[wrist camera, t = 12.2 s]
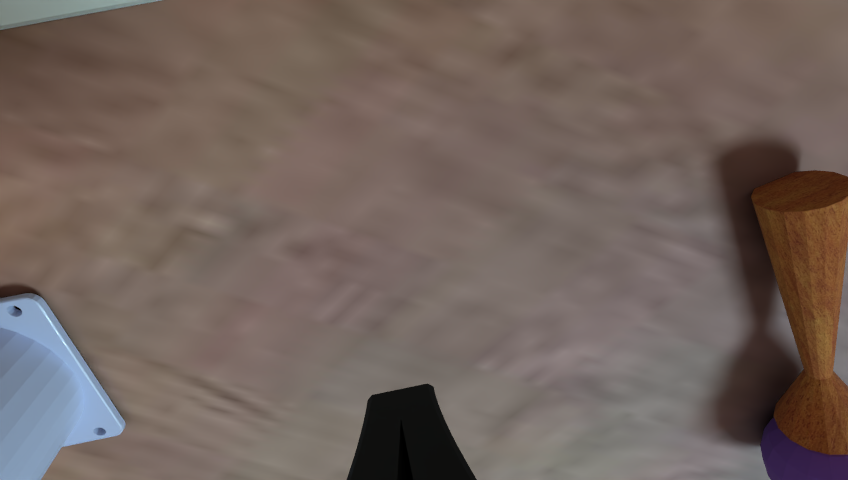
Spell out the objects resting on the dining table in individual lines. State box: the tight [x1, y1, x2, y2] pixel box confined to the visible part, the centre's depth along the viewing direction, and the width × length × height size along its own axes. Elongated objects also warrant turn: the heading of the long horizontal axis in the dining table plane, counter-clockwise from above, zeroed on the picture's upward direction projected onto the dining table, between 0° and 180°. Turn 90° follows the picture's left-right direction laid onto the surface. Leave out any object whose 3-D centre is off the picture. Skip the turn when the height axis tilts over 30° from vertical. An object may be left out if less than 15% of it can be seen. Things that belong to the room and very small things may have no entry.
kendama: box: [751, 171, 848, 480], centre depth 24 cm, size 6×6×20 cm
